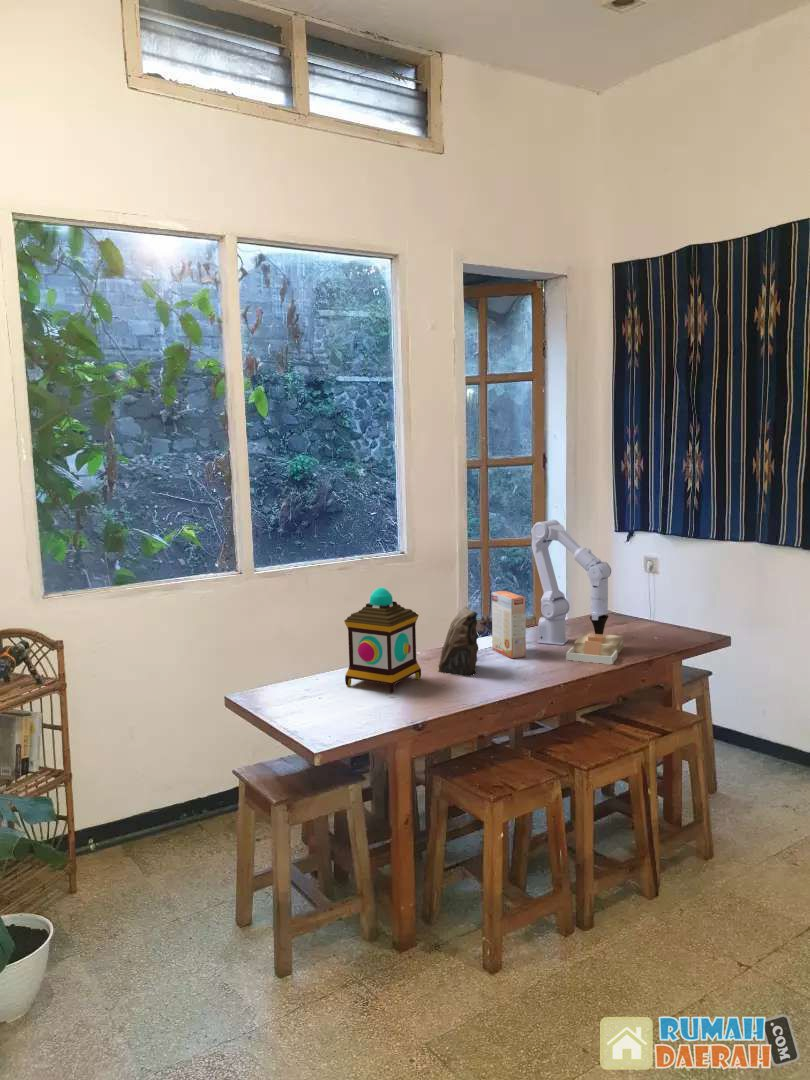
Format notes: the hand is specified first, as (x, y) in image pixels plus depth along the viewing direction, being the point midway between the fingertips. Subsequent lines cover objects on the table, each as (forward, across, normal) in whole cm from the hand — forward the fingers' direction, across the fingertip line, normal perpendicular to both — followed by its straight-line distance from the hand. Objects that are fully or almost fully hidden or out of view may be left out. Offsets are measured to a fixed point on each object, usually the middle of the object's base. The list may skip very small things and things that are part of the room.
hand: (599, 636), depth 284 cm
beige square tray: (+5, 0, 0) cm, 5 cm away
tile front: (+2, -9, 0) cm, 9 cm away
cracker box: (+5, -14, +28) cm, 32 cm away
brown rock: (+5, -39, +37) cm, 54 cm away
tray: (+5, -11, 0) cm, 12 cm away
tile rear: (+1, -3, 0) cm, 4 cm away
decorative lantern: (+5, -59, +54) cm, 80 cm away
